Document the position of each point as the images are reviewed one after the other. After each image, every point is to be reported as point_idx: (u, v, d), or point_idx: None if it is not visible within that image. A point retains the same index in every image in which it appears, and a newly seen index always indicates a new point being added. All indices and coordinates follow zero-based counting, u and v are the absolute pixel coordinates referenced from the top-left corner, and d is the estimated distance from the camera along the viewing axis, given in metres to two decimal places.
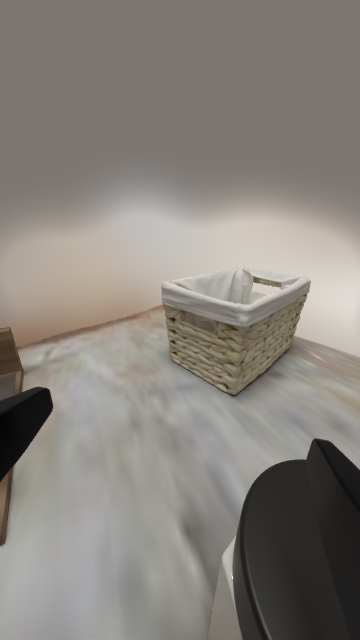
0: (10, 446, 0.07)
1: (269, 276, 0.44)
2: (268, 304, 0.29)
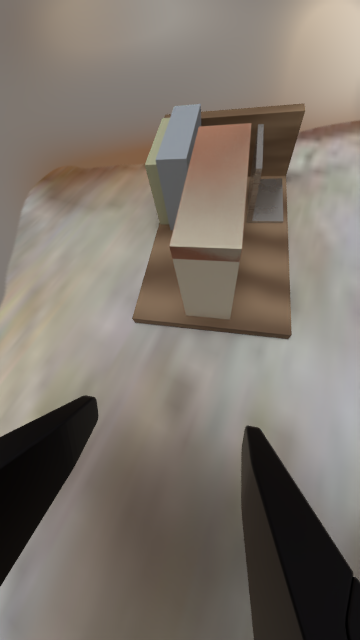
0: (64, 460, 0.06)
1: None
2: None
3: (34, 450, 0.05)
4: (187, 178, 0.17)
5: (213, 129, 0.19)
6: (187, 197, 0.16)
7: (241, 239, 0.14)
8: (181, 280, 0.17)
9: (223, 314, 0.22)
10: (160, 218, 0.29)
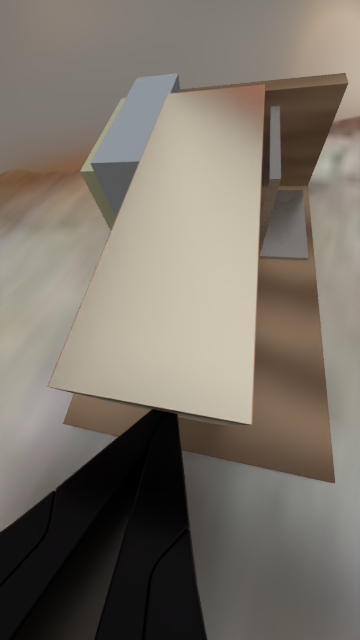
0: None
1: None
2: None
3: (130, 474, 0.05)
4: (130, 192, 0.08)
5: (194, 98, 0.10)
6: (122, 237, 0.07)
7: (250, 384, 0.05)
8: None
9: (213, 423, 0.12)
10: None
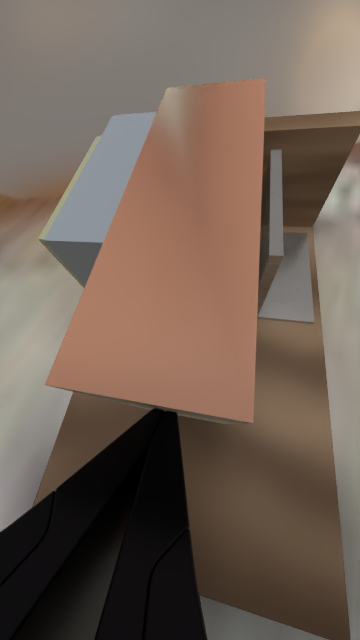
0: None
1: None
2: None
3: (130, 474, 0.05)
4: (128, 187, 0.08)
5: (193, 92, 0.10)
6: (120, 233, 0.07)
7: (250, 382, 0.04)
8: (119, 402, 0.08)
9: (213, 421, 0.12)
10: None
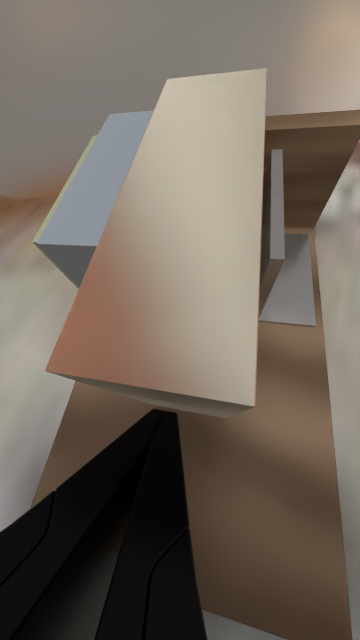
0: None
1: None
2: None
3: (130, 474, 0.05)
4: (129, 176, 0.08)
5: (194, 83, 0.10)
6: (121, 222, 0.07)
7: (252, 366, 0.04)
8: (120, 393, 0.08)
9: (214, 415, 0.12)
10: None
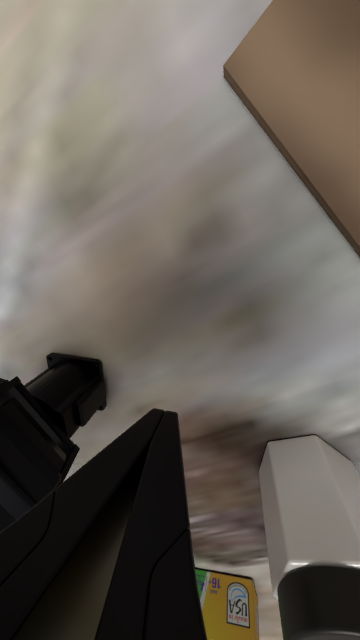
0: None
1: None
2: None
3: (130, 474, 0.05)
4: None
5: None
6: None
7: None
8: None
9: None
10: None
